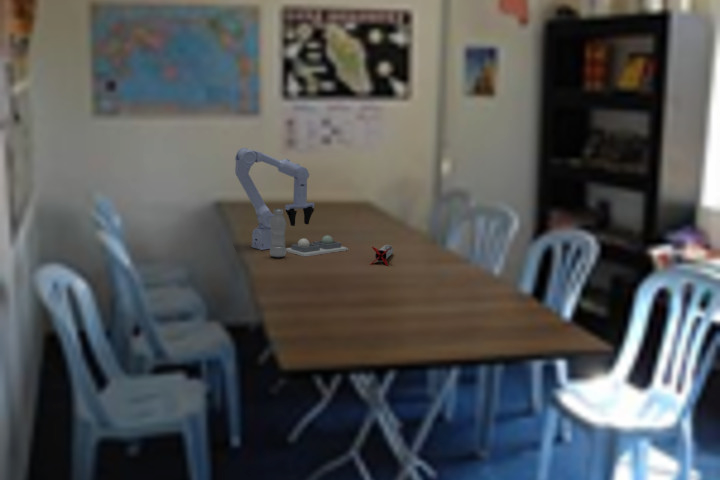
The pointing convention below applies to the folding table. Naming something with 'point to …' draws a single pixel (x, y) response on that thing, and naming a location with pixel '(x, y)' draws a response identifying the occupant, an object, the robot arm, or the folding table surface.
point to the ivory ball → (303, 243)
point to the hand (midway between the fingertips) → (299, 224)
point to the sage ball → (327, 240)
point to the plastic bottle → (278, 234)
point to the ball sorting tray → (316, 248)
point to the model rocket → (383, 253)
